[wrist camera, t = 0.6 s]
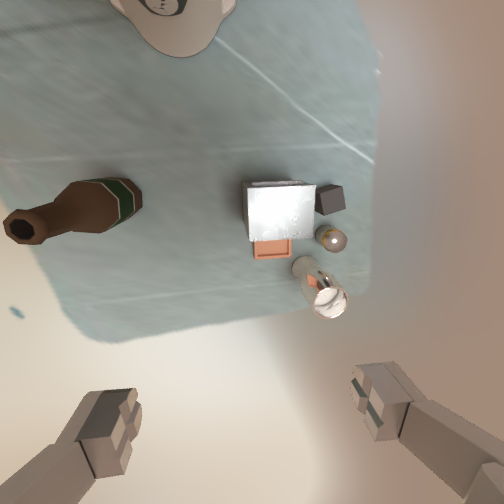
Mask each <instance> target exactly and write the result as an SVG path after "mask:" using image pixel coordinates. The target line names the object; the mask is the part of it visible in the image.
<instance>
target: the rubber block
mask: <svg viewBox="0 0 504 504" xmlns="http://www.w3.org/2000/svg"><path fill="white" fill-rule="evenodd" d="M314 208H315V211H316V212H318V213H320V214H322V215H324V216H325V215H328V214H331V213H334V212H337V211H340V210H343V209H346V207H345V200H344V194H343V187H342V186H338V185H332V184H331V185H328V186H325V187H321V188H318V189H316V190H315V206H314Z"/></svg>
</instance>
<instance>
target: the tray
mask: <svg viewBox="0 0 504 504" xmlns="http://www.w3.org/2000/svg"><path fill="white" fill-rule="evenodd" d="M291 247H292V239H285V240H269V241H254V258H255V260H256V259H270V258H284V257H291Z"/></svg>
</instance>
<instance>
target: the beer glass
mask: <svg viewBox="0 0 504 504" xmlns="http://www.w3.org/2000/svg"><path fill="white" fill-rule="evenodd" d="M292 273H293V275H294V276H295V277H296V278H297V279H298V280H299V282H300V286H301V290H302V293H303V296H304V298H305V300H306V301H307V303H308V304H309V306H310V307H311V308H312V310H313V311H314V313H315V314H316V315H317V316H318V317H320V318H323V319H332V318H335V317H338V316H339V315H341V314H342V313H343V312H344V311H345V310H346V308H347V306H348V303H349V296H348V294H347V292H346V291H345V290H344V289H343V287H342V286H341V285H340V283H339V282H338V281H337V280H336V279H335V278H334V277H333V276H332V275H331V274H329V273H328V272H326V271H325V270H323V269H321V268H320V267H319V266H318V264H317V262H316V261H315V259H314V258H312V257H310V256H302V257H299V258H298V259H296V260H295V261H294V263H293V265H292Z"/></svg>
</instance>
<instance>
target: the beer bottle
mask: <svg viewBox="0 0 504 504" xmlns="http://www.w3.org/2000/svg"><path fill="white" fill-rule="evenodd" d="M141 207H142V194H141V191H140V190H139V189H138V188H137V187H136V186H135V185H134V184H133V183H132V182H131V181H130V180H129V179H121V178H100V179H91V180H82V181H76V182H72V183H70V184H69V185H68V186H67V187H66V188H65V189H64V190H63V191H62V192H61V193H60V194H59V195H58V196H57V197H56V198H55V199H54V202H51V203H48V204H45V205H42V206H38V207H35V208H32V209H29V210H21V209H16V210H15V211H14V212H12V213H11V214H10V215H9V216H8V217H7V218H6V219H5V220H4V221H3V225H4V229H5V232H6V235H7V236H9V237H10V238H12V239H13V240H14V241H15V242H17V243H18V244H28V245H37V244H42V243H43V242H44V241H45V240H46V239H47V238H50V237H53V236H57V235H60V234H63V233H66V232H69V231H73V232H87V233H102V232H105V231H107V230H109V229H111V228H112V227H114V226H116V225H118V224H120V223H121V222H123V221H125V220H127V219H129V218H130V217H131V216H133V215H134V214H135V213H136V212H137V211H138V210H139V209H140V208H141Z"/></svg>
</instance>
